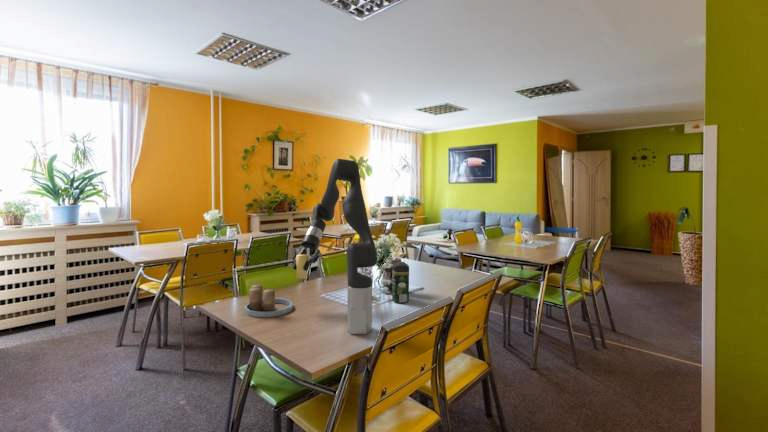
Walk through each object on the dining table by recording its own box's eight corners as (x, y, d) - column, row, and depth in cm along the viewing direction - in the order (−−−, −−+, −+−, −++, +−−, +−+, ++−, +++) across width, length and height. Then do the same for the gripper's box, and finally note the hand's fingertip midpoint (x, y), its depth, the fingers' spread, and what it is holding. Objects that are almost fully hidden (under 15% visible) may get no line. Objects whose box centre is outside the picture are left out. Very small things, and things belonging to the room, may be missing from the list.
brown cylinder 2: (272, 315, 154) (272, 292, 153) (262, 315, 154) (261, 292, 153) (276, 312, 159) (276, 289, 158) (265, 311, 159) (265, 289, 158)
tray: (284, 317, 152) (284, 313, 152) (236, 316, 152) (236, 311, 152) (297, 302, 172) (297, 298, 172) (255, 301, 172) (255, 297, 172)
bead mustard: (305, 278, 161) (305, 256, 161) (295, 278, 161) (295, 256, 161) (308, 276, 166) (308, 254, 165) (297, 276, 166) (297, 254, 165)
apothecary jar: (403, 289, 197) (404, 256, 196) (404, 296, 185) (404, 260, 184) (381, 289, 198) (381, 255, 196) (380, 295, 186) (380, 260, 184)
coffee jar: (391, 297, 182) (391, 260, 181) (407, 297, 182) (407, 260, 181) (392, 303, 172) (393, 264, 171) (409, 303, 173) (410, 264, 171)
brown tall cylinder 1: (260, 309, 161) (260, 287, 161) (250, 309, 162) (249, 287, 161) (264, 306, 166) (263, 284, 165) (254, 306, 166) (253, 284, 165)
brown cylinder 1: (258, 313, 156) (258, 290, 155) (247, 313, 156) (247, 290, 155) (262, 310, 161) (262, 287, 160) (252, 310, 161) (251, 287, 160)
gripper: (295, 232, 172) (281, 263, 161) (323, 234, 167) (311, 265, 157) (301, 242, 177) (288, 272, 166) (328, 244, 173) (317, 275, 162)
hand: (299, 269), depth 162 cm, fingers closed on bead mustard, 4 cm apart
